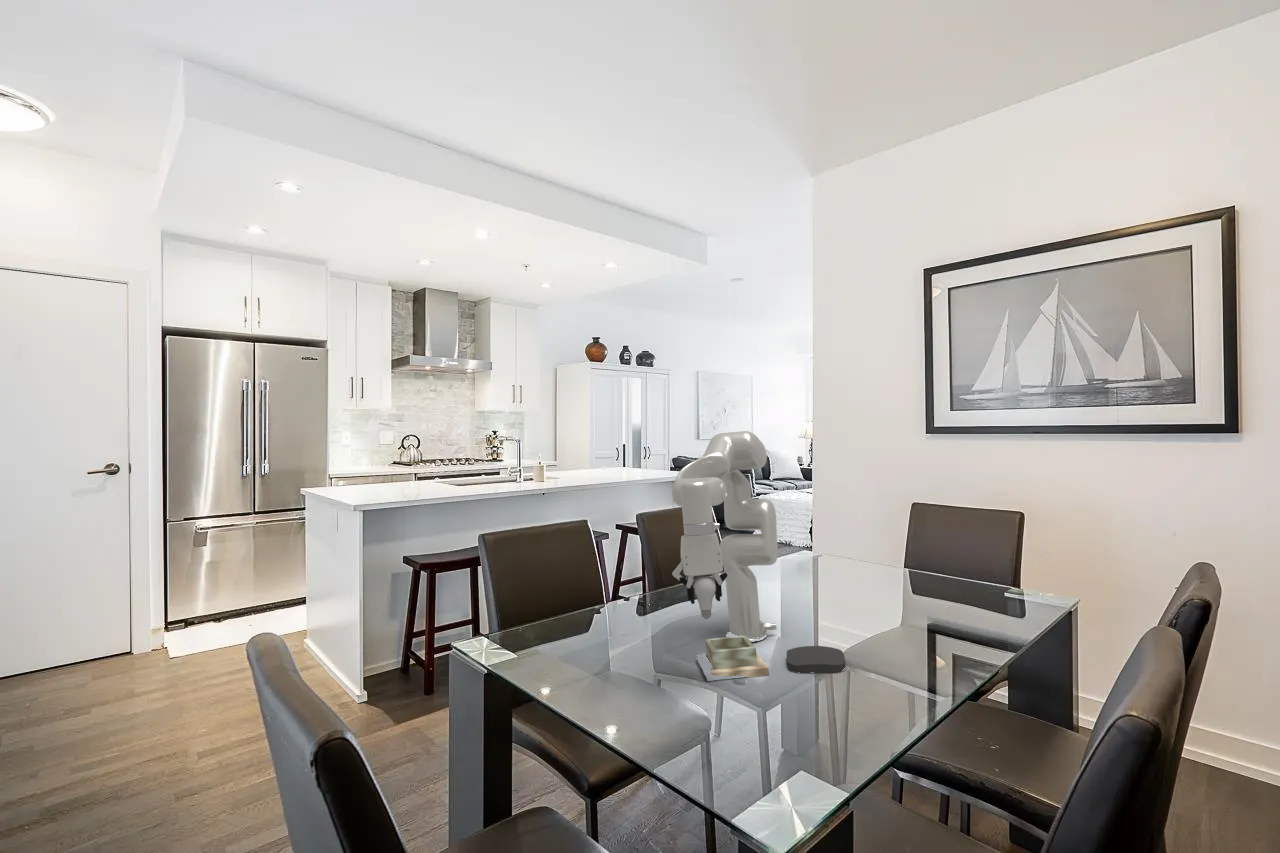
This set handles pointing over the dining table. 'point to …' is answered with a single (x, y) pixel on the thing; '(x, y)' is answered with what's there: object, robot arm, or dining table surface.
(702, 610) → the lightbulb
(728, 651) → the base
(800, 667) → the media streaming box
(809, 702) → the dining table surface
